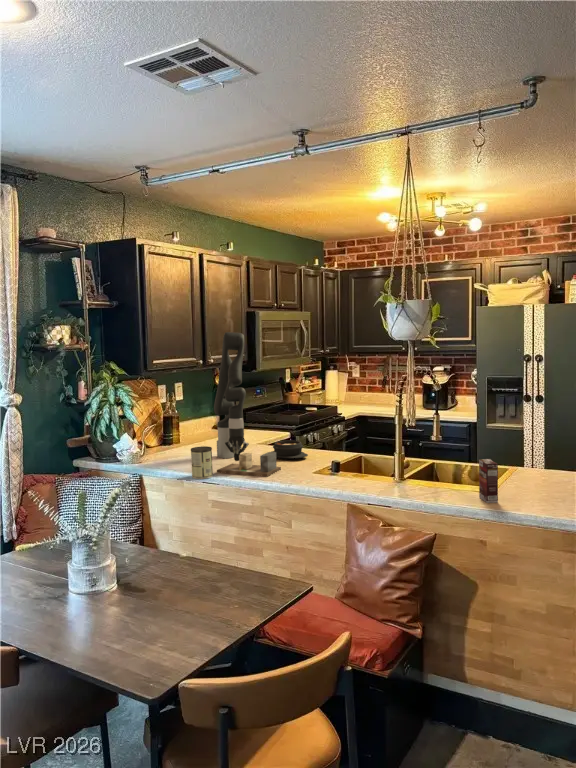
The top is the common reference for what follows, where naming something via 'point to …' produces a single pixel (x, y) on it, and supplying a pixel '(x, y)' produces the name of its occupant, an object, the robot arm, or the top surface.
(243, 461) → the tan wooden block
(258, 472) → the board
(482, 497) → the supplement box
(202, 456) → the coffee can
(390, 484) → the top surface
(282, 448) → the casserole
